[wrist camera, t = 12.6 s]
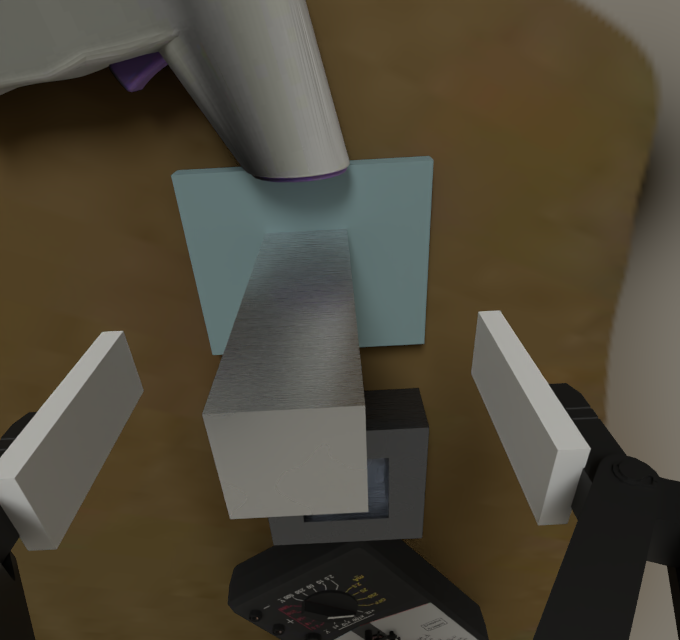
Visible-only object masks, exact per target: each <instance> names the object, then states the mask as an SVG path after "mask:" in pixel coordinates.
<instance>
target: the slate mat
mask: <svg viewBox="0 0 680 640" xmlns="http://www.w3.org/2000/svg"><path fill="white" fill-rule="evenodd" d="M349 162H350V164H349V166H348V167H347V170H346V171H345V173H343V174H341V175H338V176H335V177H332V178H327V179H322V180H316V181H308V182H269V181H262V180H259V179H256V178H254V177H253V176H252V175H251V174H248V173H247V172H246V171H245V170H244V169H243V168H242V167H227V168H210V169H192V170H177V171H176V172H175V173H173V174H172V175H171V177H172V181H173V186H174V190H175V194H176V198H177V203H178V207H179V211H180V216H181V220H182V224H183V229H184V233H185V237H186V242H187V246H188V250H189V255H190V259H191V263H192V267H193V272H194V276H195V280H196V285H197V289H198V293H199V298H200V302H201V306H202V311H203V315H204V319H205V324H206V328H207V332H208V336H209V341H210V345H211V349H212V354H213V355H223V353H224V350H225V348H226V345H227V342H228V339H229V336H230V333H231V330H232V327H233V325H234V322H235V319H236V316H237V313H238V310H239V307H240V305H241V302H242V299H243V296H244V293H245V290H246V287H247V284H248V282H249V279H250V276H251V273H252V270H253V267H254V264H255V262H256V259H257V256H258V253H259V250H260V247H261V244H262V241H263V239H264V236H265V233H280V232H297V231H315V230H333V229H347V235H348V244H349V254H350V264H351V273H352V283H353V293H354V302H355V312H356V322H357V331H358V341H359V347H373V346H391V345H410V344H424V337H425V317H426V297H427V277H428V257H429V237H430V217H431V197H432V177H433V159H432V158H431V157H430V156H421V157H403V158H386V159H368V160H350V161H349Z"/></svg>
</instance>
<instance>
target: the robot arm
mask: <svg viewBox="0 0 680 640" xmlns="http://www.w3.org/2000/svg"><path fill="white" fill-rule="evenodd" d="M471 374H472V376H473V378H474V381H475V383H476V385H477V388H478V390H479V392H480V394H481V397H482V399H483V401H484V403H485V406H486V408H487V410H488V412H489V415H490V417H491V419H492V422H493V424H494V426H495V428H496V431H497V433H498V435H499V437H500V440H501V442H502V444H503V446H504V449H505V451H506V453H507V456H508V458H509V460H510V462H511V465H512V467H513V469H514V471H515V474H516V476H517V478H518V480H519V483H520V485H521V487H522V490H523V492H524V494H525V496H526V499H527V501H528V503H529V505H530V508H531V510H532V512H533V514H534V517H535V519H536V521H537V524H538V525H552V524H567V523H568V520H569V517H570V513H571V510H573V512H574V514H575V516H576V517H577V519H578V522H577V524H576V527H575V530H574V532H573V535H572V538H571V540H570V543H569V546H568V548H567V551H566V554H565V556H564V559H563V561H562V564H561V567H560V569H559V572H558V575H557V577H556V580H555V583H554V585H553V588H552V590H551V593H550V596H549V598H548V601H547V604H546V606H545V609H544V612H543V614H542V617H541V620H540V622H539V625H538V627H537V630H536V633H535V635H534V638H533V640H629V636H630V632H631V627H632V623H633V618H634V614H635V609H636V605H637V600H638V596H639V591H640V587H641V582H642V578H643V573H644V569H645V564H646V561H650V562H654V563H658V564H662V565H666V566H667V569H668V575H669V581H670V587H671V594H672V600H673V606H674V613H675V619H676V625H677V631H678V637H679V640H680V482H679V481H674V480H669V479H664V478H661V477H659V476H658V474H657V473H656V472H655V471H654V470H653V469H652V468H651V467H650V466H649V465H647V464H646V463H644V462H642V461H640V460H638V459H636V458H633V457H630V456H626V454H625V453H624V451H623V450H622V449H621V447H620V446H619V445H618V443H617V442H616V440H615V439H614V438H613V436H612V435H611V434H610V432H609V431H608V430H607V428H606V427H605V425H604V424H603V423H602V421H601V420H600V419H598V416H597V415H596V413H595V412H594V411H593V409H591V408H590V405H589V404H588V402H587V401H586V400H585V398H584V397H583V396H582V394H581V393H579V392H578V391H577V390H575V389H574V388H572V387H571V386H570V385H568V384H567V383H561V384H548V383H547V381H546V380H545V378H544V377H543V375H542V374H541V372H540V371H539V369H538V368H537V366H536V365H535V363H534V362H533V360H532V359H531V357H530V356H529V354H528V353H527V351H526V350H525V348H524V347H523V345H522V344H521V342H520V341H519V339H518V337H517V336H516V334H515V333H514V331H513V330H512V328H511V327H510V325H509V324H508V322H507V321H506V319H505V318H504V316H503V315H502V313H501V312H500V311H483V312H478V320H477V329H476V337H475V346H474V354H473V363H472V371H471ZM143 391H144V390H143V387H142V384H141V381H140V378H139V376H138V373H137V370H136V367H135V364H134V361H133V358H132V355H131V352H130V349H129V346H128V343H127V340H126V337H125V334H124V332H123V331H112V332H102V333H101V334H100V335H99V337H98V338H97V339H96V340H95V342H94V343H93V344H92V345H91V347H90V348H89V349H88V350H87V351H86V353H85V354H84V355H83V356H82V358H81V359H80V360H79V361H78V363H77V364H76V365H75V366H74V367H73V369H72V370H71V371H70V372H69V374H68V375H67V376H66V377H65V379H64V380H63V381H62V382H61V383H60V385H59V386H58V387H57V388H56V390H55V391H54V392H53V393H52V395H51V396H50V397H49V398H48V400H47V401H46V402H45V403H44V404H43V406H42V407H41V408H40V409H39V411H38V412H29V413H28V414H26V415H25V416H23V417H22V418H21V419H19V420H18V421H17V422H15V423H14V424H12V426H11V427H10V428H9V429H8V430H7V431H6V433H5V434H4V435H3V436H2V437H1V440H0V640H35V636H34V632H33V628H32V624H31V620H30V615H29V611H28V607H27V603H26V599H25V595H24V590H23V586H22V582H21V578H20V574H19V570H18V565H17V561H16V558H15V556H14V555H13V553H12V552H11V549H12V547H13V546H14V544H15V543H16V541H17V540H18V538H19V537H20V539H21V540H22V542H23V543H24V545H25V546H26V548H27V550H28V551H30V550H50V549H57V548H58V546H59V544H60V542H61V540H62V539H63V537H64V535H65V533H66V531H67V529H68V528H69V526H70V524H71V522H72V520H73V519H74V517H75V515H76V513H77V511H78V509H79V508H80V506H81V504H82V502H83V500H84V498H85V497H86V495H87V493H88V491H89V489H90V488H91V486H92V484H93V482H94V480H95V478H96V477H97V475H98V473H99V471H100V469H101V467H102V466H103V464H104V462H105V460H106V458H107V457H108V455H109V453H110V451H111V449H112V447H113V446H114V444H115V442H116V440H117V438H118V437H119V435H120V433H121V431H122V429H123V427H124V426H125V424H126V422H127V420H128V418H129V416H130V415H131V413H132V411H133V409H134V407H135V406H136V404H137V402H138V400H139V398H140V396H141V395H142V393H143Z"/></svg>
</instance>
